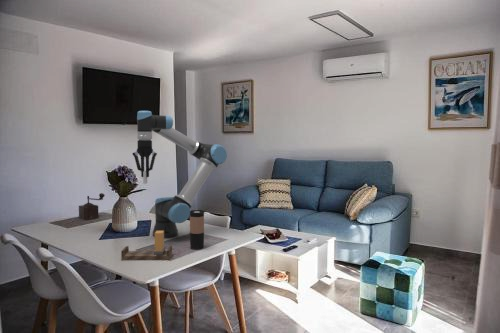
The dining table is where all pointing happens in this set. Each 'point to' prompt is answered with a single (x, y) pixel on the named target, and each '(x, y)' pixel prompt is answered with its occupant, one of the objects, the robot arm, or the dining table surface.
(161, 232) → the fader knob
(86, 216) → the brown manual coffee grinder
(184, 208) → the robot arm
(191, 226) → the travel mug
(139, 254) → the fader rail
